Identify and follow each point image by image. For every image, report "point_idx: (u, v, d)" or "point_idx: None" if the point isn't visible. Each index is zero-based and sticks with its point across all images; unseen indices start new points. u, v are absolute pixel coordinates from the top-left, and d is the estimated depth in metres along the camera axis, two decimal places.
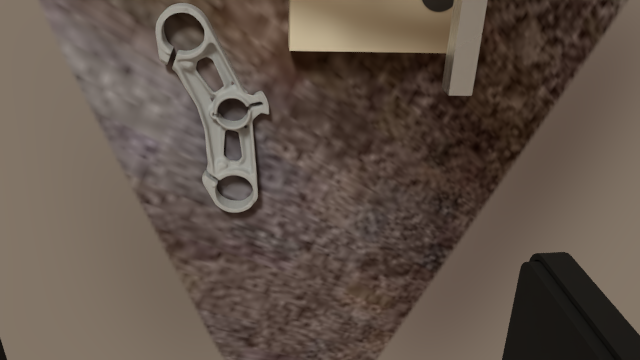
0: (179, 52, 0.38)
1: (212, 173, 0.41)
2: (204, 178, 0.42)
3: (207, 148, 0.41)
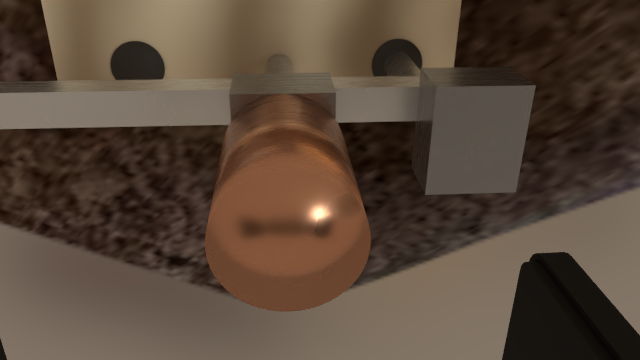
0: None
1: None
2: None
3: None
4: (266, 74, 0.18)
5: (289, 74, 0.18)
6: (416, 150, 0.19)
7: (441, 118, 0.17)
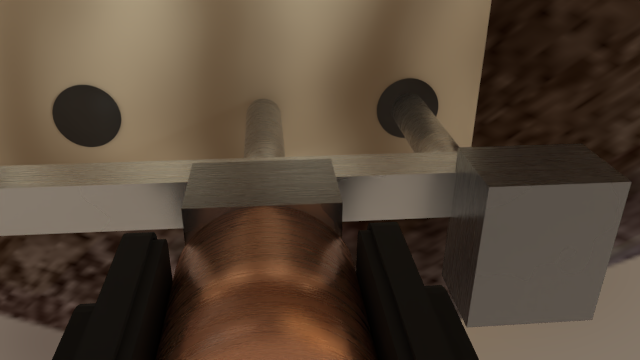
0: None
1: None
2: None
3: None
4: (240, 164, 0.12)
5: (273, 163, 0.12)
6: (450, 256, 0.14)
7: (495, 229, 0.12)
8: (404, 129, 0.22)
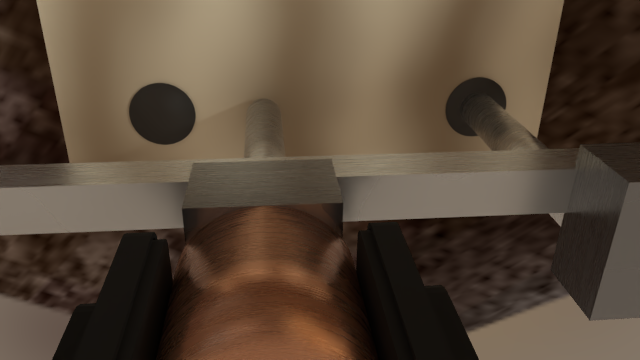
0: None
1: None
2: None
3: None
4: (240, 163, 0.12)
5: (274, 163, 0.12)
6: (565, 251, 0.14)
7: (629, 224, 0.12)
8: (479, 127, 0.22)
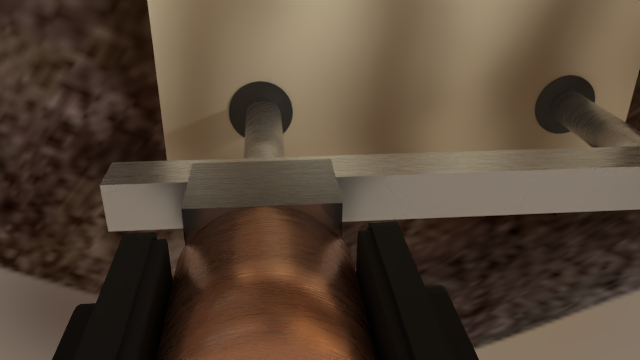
0: None
1: None
2: None
3: None
4: (240, 164, 0.12)
5: (273, 163, 0.12)
6: None
7: None
8: (577, 124, 0.22)
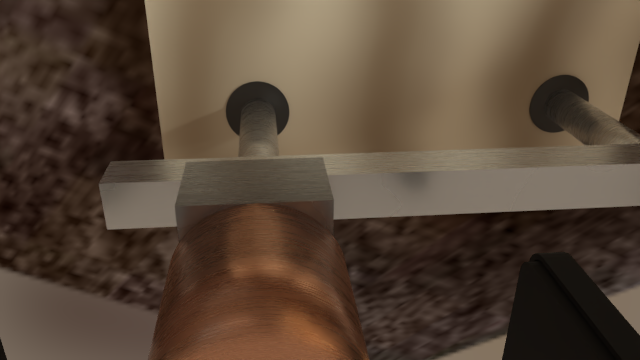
0: None
1: None
2: None
3: None
4: (233, 162, 0.12)
5: (266, 161, 0.12)
6: None
7: None
8: (571, 123, 0.22)
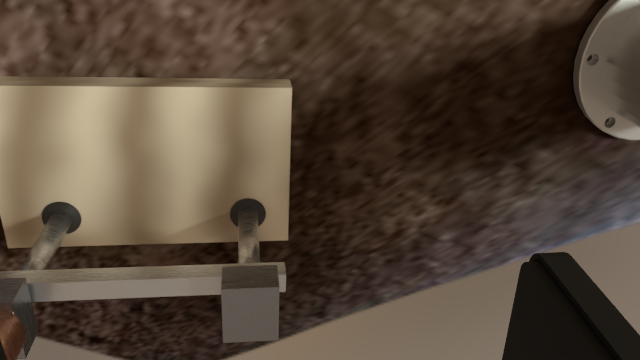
0: None
1: None
2: None
3: None
4: None
5: None
6: None
7: (226, 304, 0.30)
8: (238, 231, 0.39)
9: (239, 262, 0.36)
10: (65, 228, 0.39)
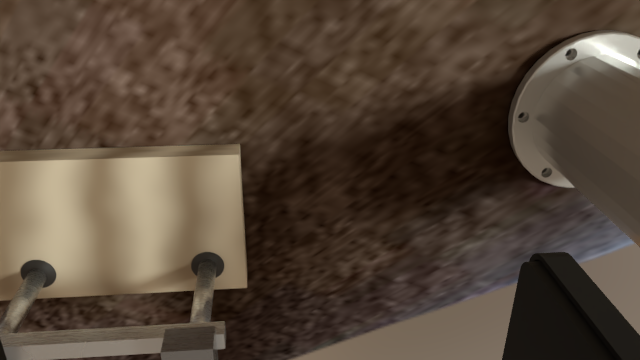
0: None
1: None
2: None
3: None
4: None
5: None
6: None
7: None
8: None
9: (190, 317, 0.39)
10: (40, 284, 0.43)
